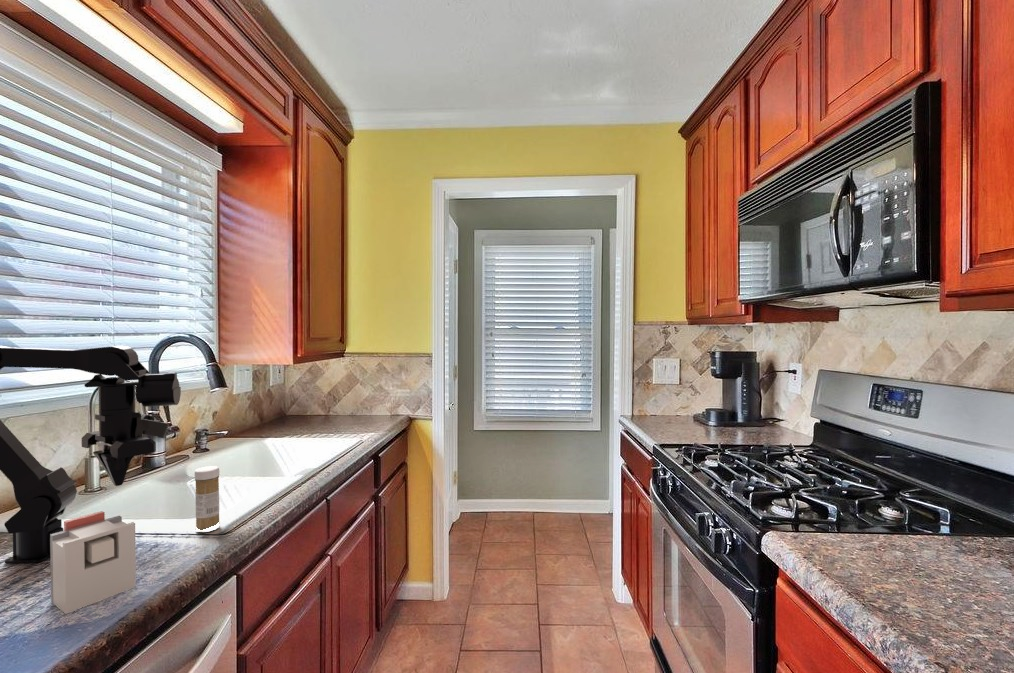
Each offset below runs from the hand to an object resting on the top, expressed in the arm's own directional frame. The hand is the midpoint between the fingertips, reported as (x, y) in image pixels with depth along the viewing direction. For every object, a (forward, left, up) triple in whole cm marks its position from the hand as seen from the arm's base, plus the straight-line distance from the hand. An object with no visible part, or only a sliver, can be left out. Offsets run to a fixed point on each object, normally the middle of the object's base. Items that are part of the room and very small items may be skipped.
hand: (118, 485), depth 96 cm
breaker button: (+9, -19, -6) cm, 22 cm away
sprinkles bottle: (+14, +6, -12) cm, 19 cm away
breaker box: (+10, -19, -12) cm, 25 cm away
